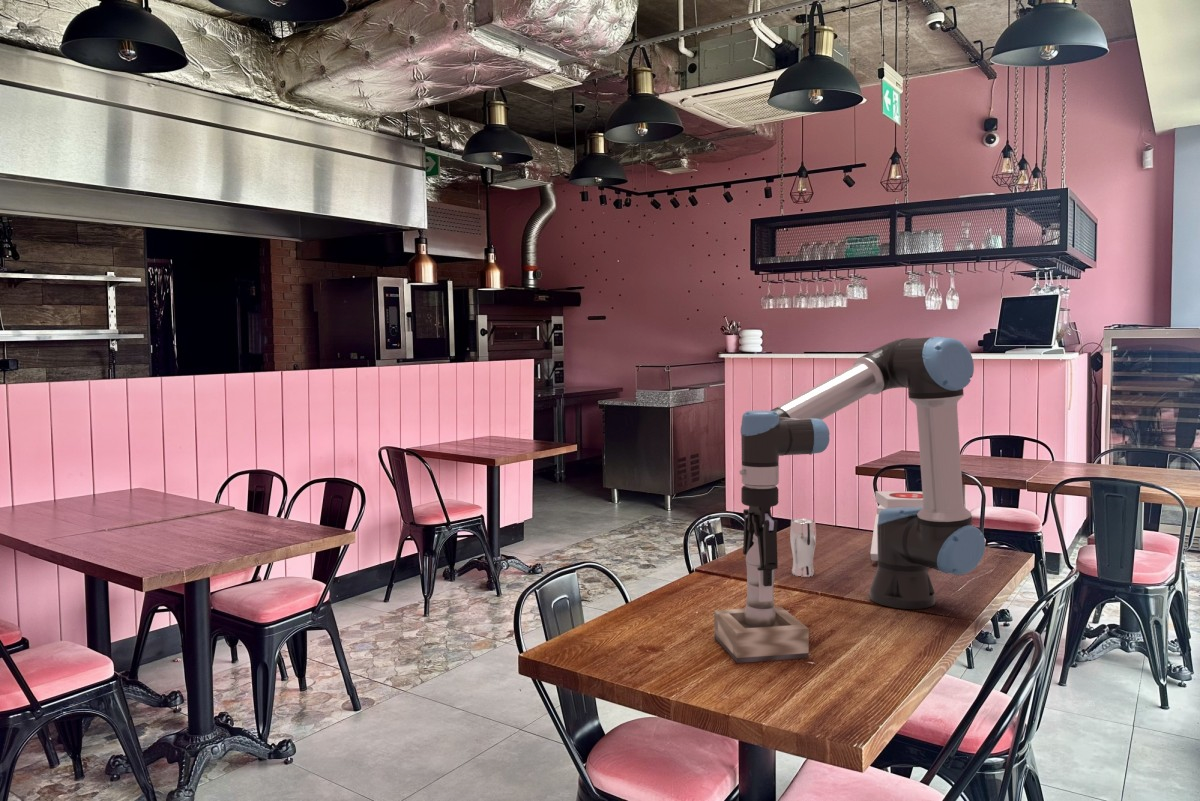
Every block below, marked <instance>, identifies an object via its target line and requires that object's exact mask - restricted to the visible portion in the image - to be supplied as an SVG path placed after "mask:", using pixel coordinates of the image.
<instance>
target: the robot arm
mask: <svg viewBox="0 0 1200 801" xmlns="http://www.w3.org/2000/svg"><path fill="white" fill-rule="evenodd" d="M974 372H975V367H974V359H973V356H972V353H971V351H970V349H968V347H967V345H965V344H964V343H963V342H962V341H961V340H958V339H957V338H952V337H943V336H932V337H915V338H913V337H911V338H910V337H909V338H899V339H896V340H892V341H891V342H888V343H886V344H883V345H882V346H879V347H876V348H875V349H872V351H869V352H867V353H866V354H864V355H862V356H861V357H858V358H857V359H855V360H854V362H853V365H852V366H851V367H849V368H847V369H845V370H843V371H842V372H840V373H838V374H836V375H833V376H832V377H829V378H828V379H827V380H824V381H823V382H821V383H819V384H817V385H816V386H813V387H812V388H810V389H808V390H806V391H804V392H803V393H800V394H799V395H797V396H795V397H793V398H791V399H790V400H788V401H785V402H784V403H782V404H780V405H779V406H777V407H774V408H772V409H770V410H748V411H745V412H744V413H743V414H742V416H741V418H742V419H741V425H740V435H741V439H740V440H741V446H740V448H741V469H740V470H739V471H738V472H739V475H740V476H741V483H742V484H743V485H742V487H741V492H740V493H741V496H740V497H741V504H742V505H744V506H747V507H748V509H747V508H744V509H743V513H742V514H743V546H742V548H743V549H742V554H743V555H744V556H746V555H747V552H748V551H749V549H750V548H751V547H752V546H753V544H754V542H753V533H754V532H755V536H757V538H758V546H759V556H760V565H761V567H759V568H757V569H758V571H759V601H760V602H764V601H773V595H774V588H773V586H774V585H773V570H774V569H776V570H777V569H778V565H779V564H778V561H779V560H778V537H777V536H778V534H777V532H778V519H773V515H772V511H771V508H773V507H775V506H777V505H778V504H779V487H777V485H779V483H780V475H779V474H780V473H779V472H780V465H779V461H780V460H779V459H780V456H794V455H795V456H797V455H801V456H802V455H810V456H812V455H813V454H821V453H823V452H824V451H826V450H827V448H828V446H829V444H830V429H829V427H828V425H827V423H826V422H825V421H824V420H825V419H826V418H828V417H830V416H832V415H833V414H835V413H837V412H839V411H840V410H843V409H844V408H846V407H848V406H850V405H851V404H853V403H855V402H857V401H859V400H860V399H863V398H864V397H866V396H867V395H878V394H880V393H882V392H884V391H887V390H890V389H891V390H892V389H899V388H901V389H903V388H905V389H907V394H908V399H909V401H911V402H912V403H913V404H915V406H916V420H917V434H918V447H919V463H920V477H921V490H922V491H921V492H922V493H923V507H898V508H887V509H883V510H881V511H880V513H879V515H878V524H877V538H878V561H877V568H876V571H875V574H874V576H873V580H872V583H871V586H870V589H869V599H870V600H871V601H872V602H874V603H876V604H879V605H882V606H886V607H889V608H895V609H903V610H904V609H905V610H906V609H907V610H919V609H928V608H930V607H931V608H932V607H933V606H935V604H936V594H935V591H934V587H933V583H932V579H931V577H930V574H929V570H928V569H929V568H930V569H932V570H935V571H939V572H941V573H943V574H947V575H948V574H951V575H955V576H963V575H966V574H969V573H971V572H972V571H973V570H975V569H976V568H977V567H978V564H979V563H980V562H981V561H982V559H983V557H984V554H985V550H986V539H985V535H984V534H983V532H982V531H981V529H979V528H978V527H976V526H975V525H973V519H972V518H973V517H972V512H971V511H970V510H968V509H967V508H966V507H965V506H964V491H963V490H964V489H963V475H962V473H963V472H962V461H961V459H962V458H961V447H960V432H959V418H958V415H959V414H958V402H959V401H960V400H961V399H962V398H963V397H964V394H965V393H964V388H966V387H968V385H969V384H970V383H971V378H973V376H974ZM746 591H747V592H748V575H747V574H746Z"/></svg>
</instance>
